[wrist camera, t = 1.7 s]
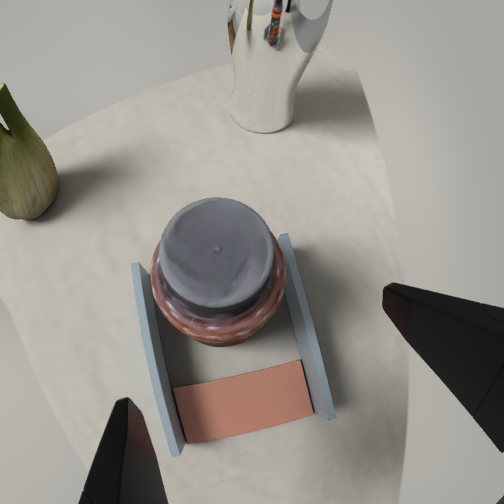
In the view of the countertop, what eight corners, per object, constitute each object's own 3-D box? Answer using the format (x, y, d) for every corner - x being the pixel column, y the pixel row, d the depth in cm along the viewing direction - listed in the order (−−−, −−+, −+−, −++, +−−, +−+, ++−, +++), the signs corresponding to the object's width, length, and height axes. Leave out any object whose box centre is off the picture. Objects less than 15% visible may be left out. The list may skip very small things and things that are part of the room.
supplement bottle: (272, 273, 22) (318, 195, 11) (253, 356, 20) (288, 358, 9) (189, 252, 22) (165, 159, 11) (166, 334, 20) (109, 310, 9)
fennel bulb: (65, 166, 23) (6, 70, 12) (69, 212, 22) (-8, 119, 11) (15, 189, 22) (-55, 111, 11) (15, 236, 21) (-72, 164, 10)
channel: (321, 410, 19) (336, 417, 16) (178, 443, 18) (172, 456, 15) (279, 248, 23) (288, 233, 20) (142, 275, 21) (131, 263, 18)
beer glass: (235, 80, 28) (248, -53, 14) (302, 96, 28) (342, -34, 14) (212, 126, 26) (215, -31, 12) (290, 146, 26) (339, -8, 12)
